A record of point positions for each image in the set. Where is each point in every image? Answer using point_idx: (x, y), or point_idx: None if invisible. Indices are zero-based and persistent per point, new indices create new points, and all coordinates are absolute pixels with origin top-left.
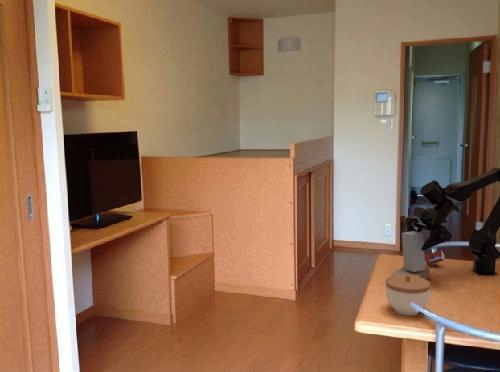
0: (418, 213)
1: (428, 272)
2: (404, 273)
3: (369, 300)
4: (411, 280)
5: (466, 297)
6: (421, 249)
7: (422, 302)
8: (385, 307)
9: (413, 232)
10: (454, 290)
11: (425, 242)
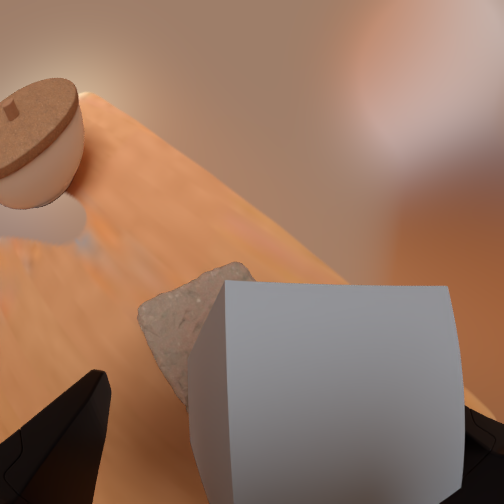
0: None
1: None
2: None
3: (151, 139)
4: (6, 127)
5: (14, 423)
6: (99, 370)
7: None
8: (93, 148)
9: (395, 458)
10: None
11: (59, 421)
